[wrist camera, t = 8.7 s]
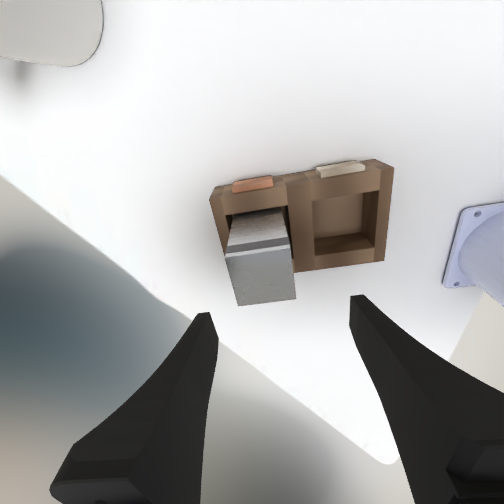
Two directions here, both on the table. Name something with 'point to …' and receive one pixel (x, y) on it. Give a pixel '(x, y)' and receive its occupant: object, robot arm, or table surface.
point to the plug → (260, 257)
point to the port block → (318, 211)
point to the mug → (50, 30)
